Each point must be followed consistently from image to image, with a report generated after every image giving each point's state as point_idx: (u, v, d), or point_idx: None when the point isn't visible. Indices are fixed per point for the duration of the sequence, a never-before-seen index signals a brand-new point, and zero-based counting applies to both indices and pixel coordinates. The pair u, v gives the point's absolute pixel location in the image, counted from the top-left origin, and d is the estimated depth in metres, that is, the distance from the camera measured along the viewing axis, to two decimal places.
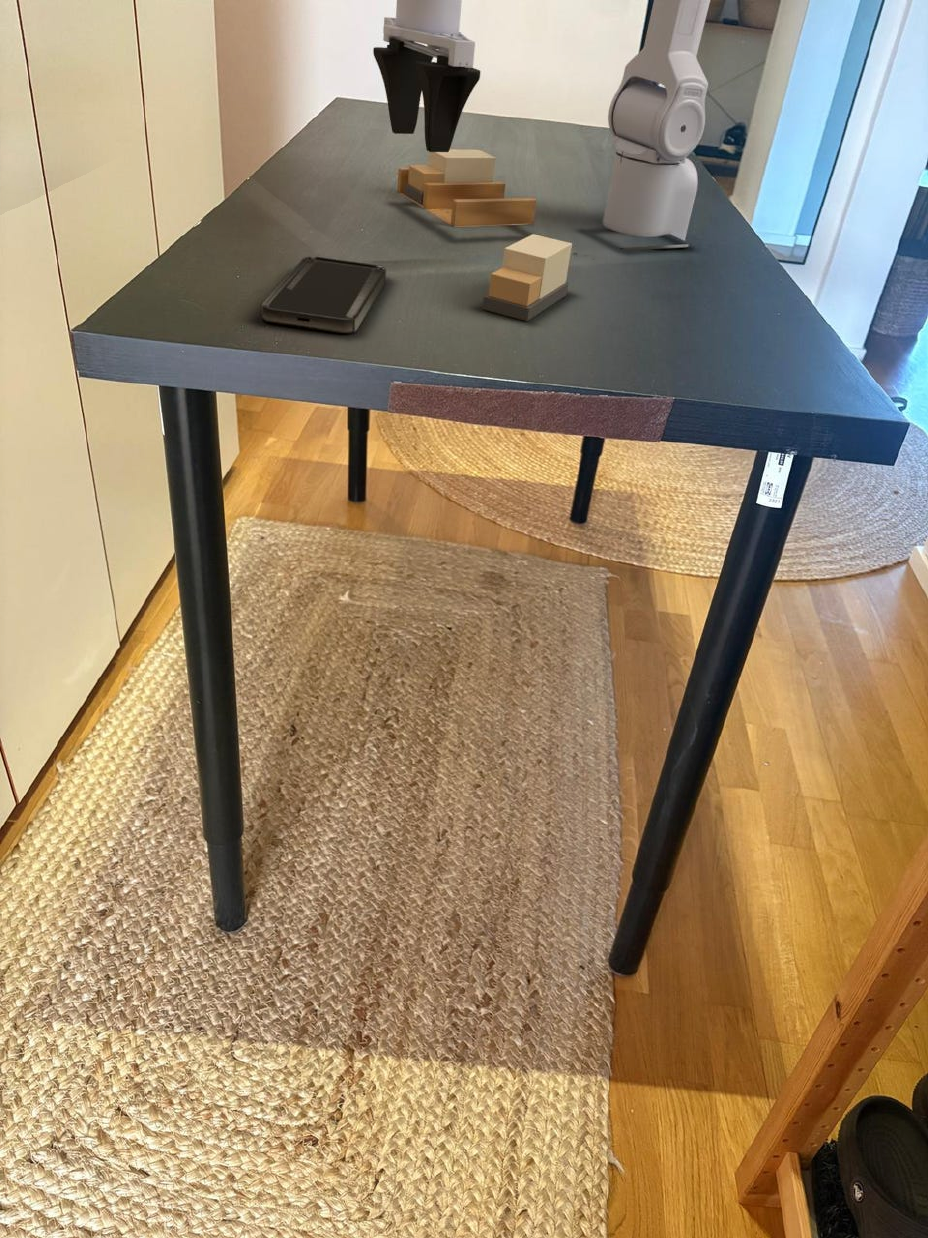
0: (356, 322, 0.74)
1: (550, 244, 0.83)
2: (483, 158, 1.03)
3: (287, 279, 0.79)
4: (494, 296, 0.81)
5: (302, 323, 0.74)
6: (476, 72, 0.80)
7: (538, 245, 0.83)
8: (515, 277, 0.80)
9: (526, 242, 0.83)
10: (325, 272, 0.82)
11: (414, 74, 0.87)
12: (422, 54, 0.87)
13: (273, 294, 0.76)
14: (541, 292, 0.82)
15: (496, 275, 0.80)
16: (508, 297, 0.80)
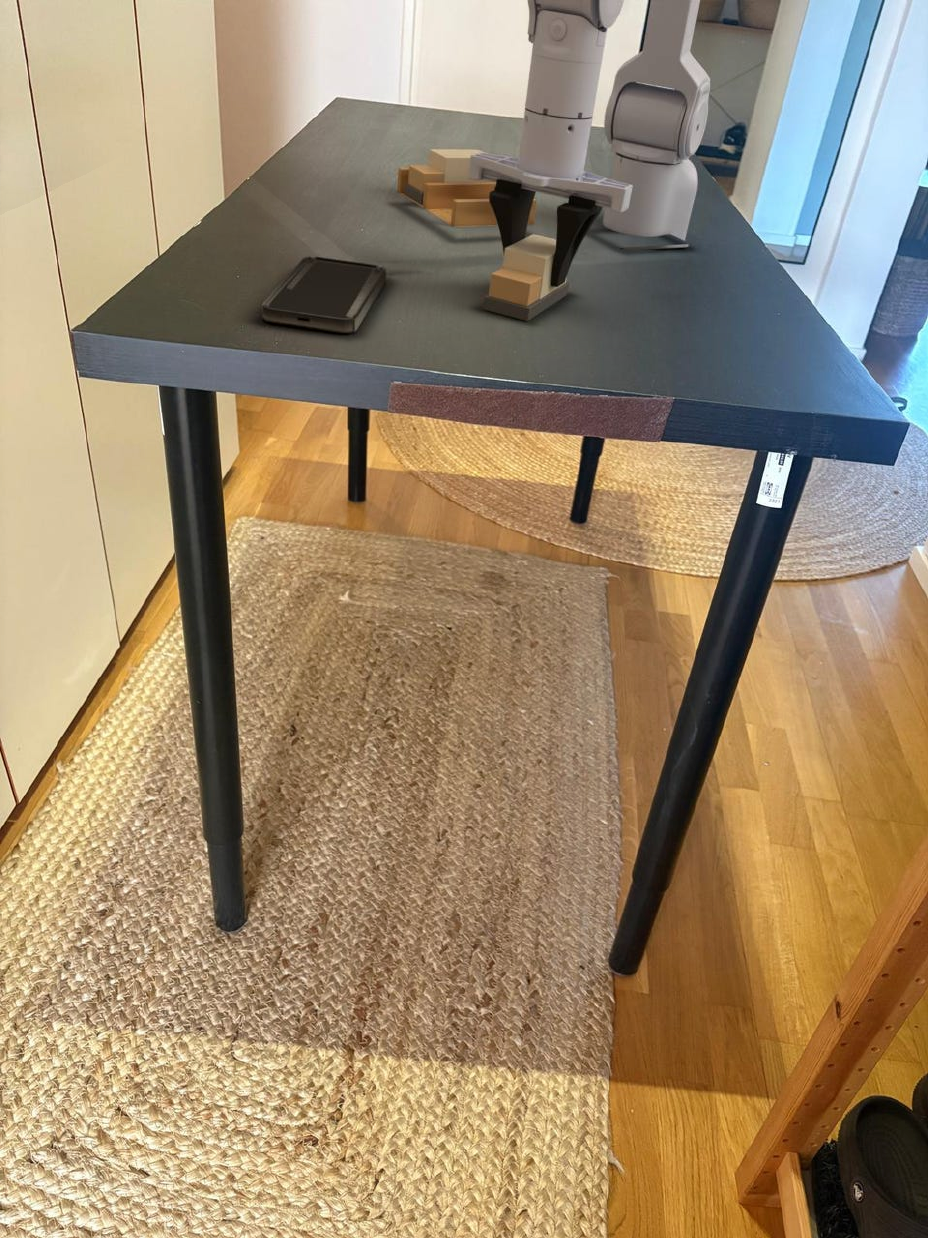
0: (356, 322, 0.74)
1: (550, 244, 0.83)
2: None
3: (287, 279, 0.79)
4: (494, 296, 0.81)
5: (302, 323, 0.74)
6: (602, 206, 0.80)
7: (538, 245, 0.83)
8: (515, 277, 0.80)
9: (526, 242, 0.83)
10: (325, 272, 0.82)
11: (524, 213, 0.83)
12: (530, 192, 0.82)
13: (273, 294, 0.76)
14: (541, 292, 0.82)
15: (496, 275, 0.80)
16: (508, 297, 0.80)
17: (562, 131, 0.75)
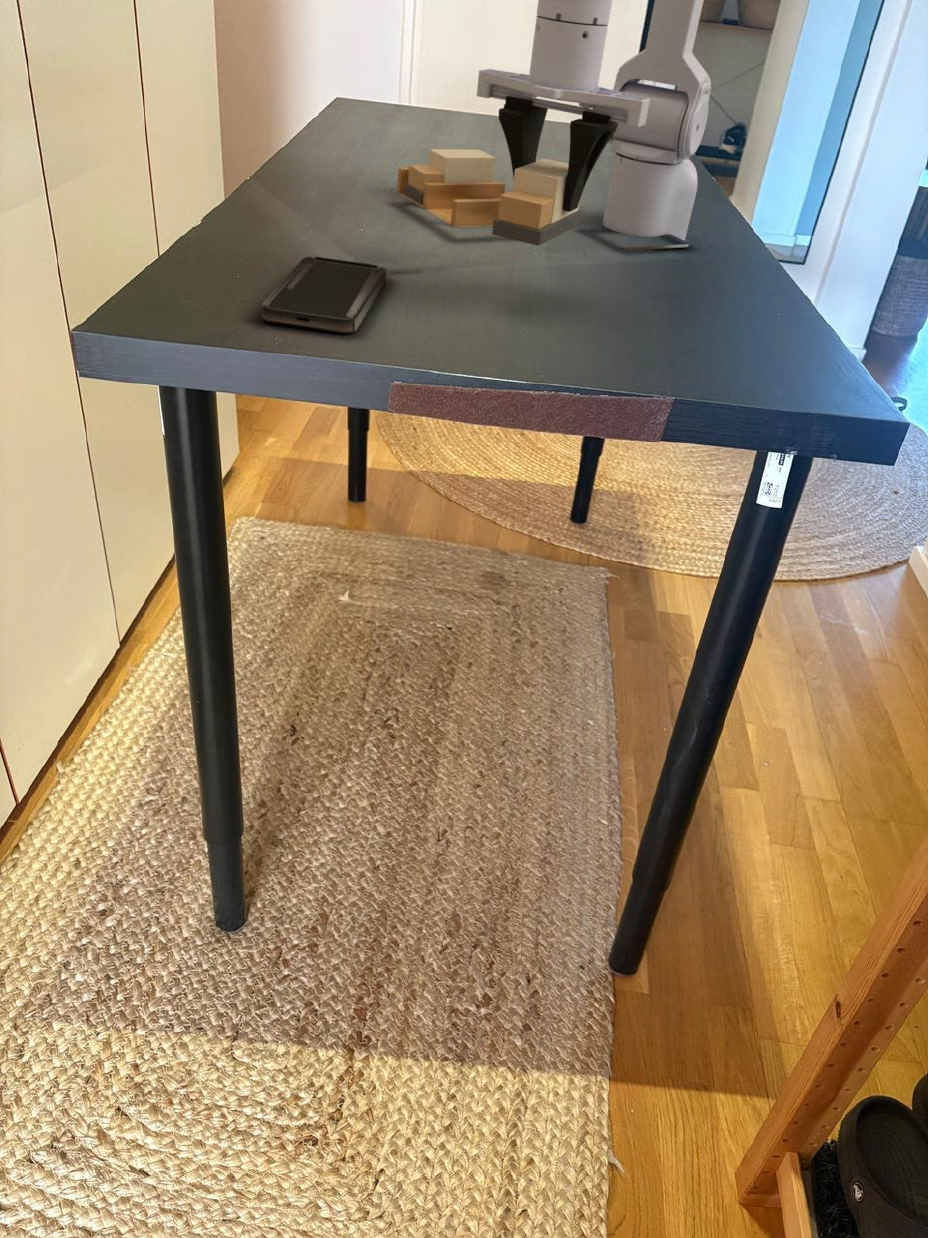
0: (356, 322, 0.74)
1: (562, 167, 0.80)
2: (483, 158, 1.03)
3: (287, 279, 0.79)
4: (504, 219, 0.77)
5: (302, 323, 0.73)
6: (617, 124, 0.77)
7: (550, 167, 0.79)
8: (526, 198, 0.76)
9: (537, 165, 0.79)
10: (325, 272, 0.82)
11: (535, 133, 0.79)
12: (542, 111, 0.78)
13: (273, 294, 0.76)
14: (553, 216, 0.78)
15: (506, 196, 0.76)
16: (519, 220, 0.77)
17: (576, 38, 0.71)
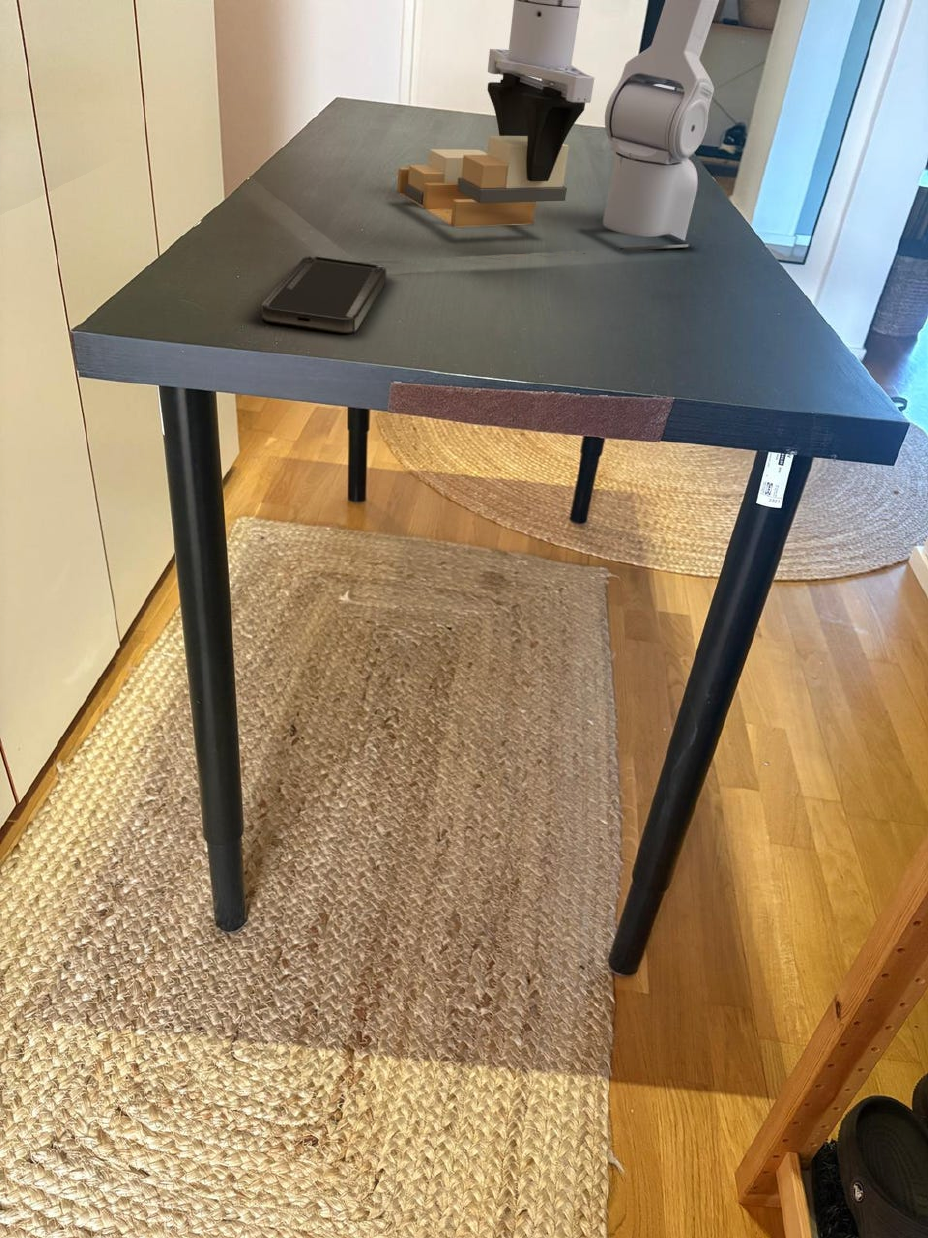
0: (356, 322, 0.74)
1: None
2: None
3: (287, 279, 0.79)
4: (464, 177, 0.86)
5: (302, 323, 0.73)
6: (582, 103, 0.81)
7: None
8: (480, 159, 0.84)
9: (522, 137, 0.86)
10: (325, 272, 0.82)
11: None
12: (537, 89, 0.85)
13: (273, 294, 0.76)
14: (509, 181, 0.85)
15: (466, 156, 0.85)
16: (471, 179, 0.85)
17: (530, 16, 0.77)
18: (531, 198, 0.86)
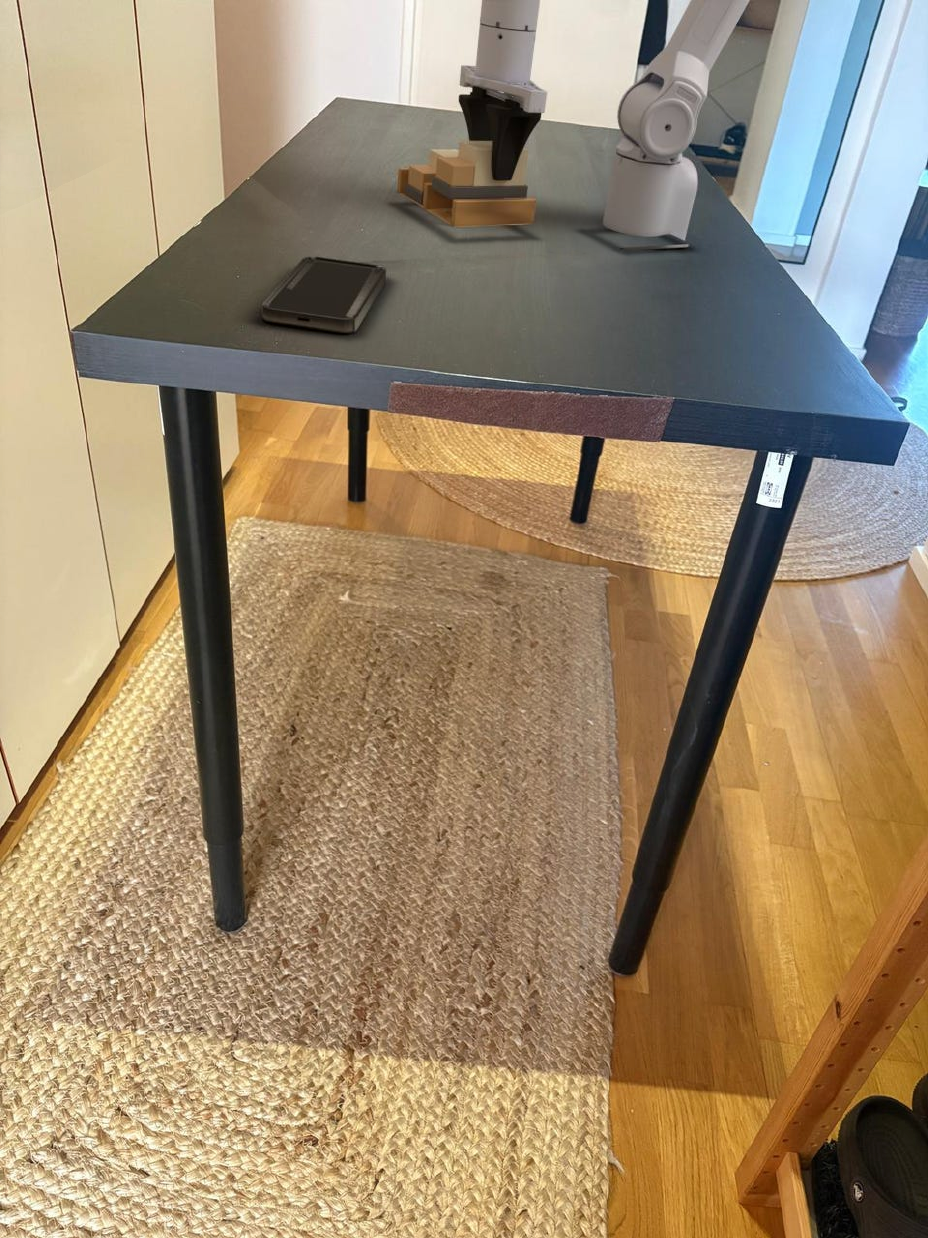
0: (356, 322, 0.74)
1: None
2: None
3: (287, 279, 0.79)
4: (437, 177, 0.98)
5: (302, 323, 0.74)
6: (538, 113, 0.94)
7: None
8: (450, 161, 0.97)
9: (488, 142, 0.99)
10: (325, 272, 0.82)
11: None
12: (501, 100, 0.98)
13: (273, 294, 0.76)
14: (476, 180, 0.97)
15: (439, 158, 0.97)
16: (443, 177, 0.97)
17: (493, 38, 0.90)
18: (496, 195, 0.99)
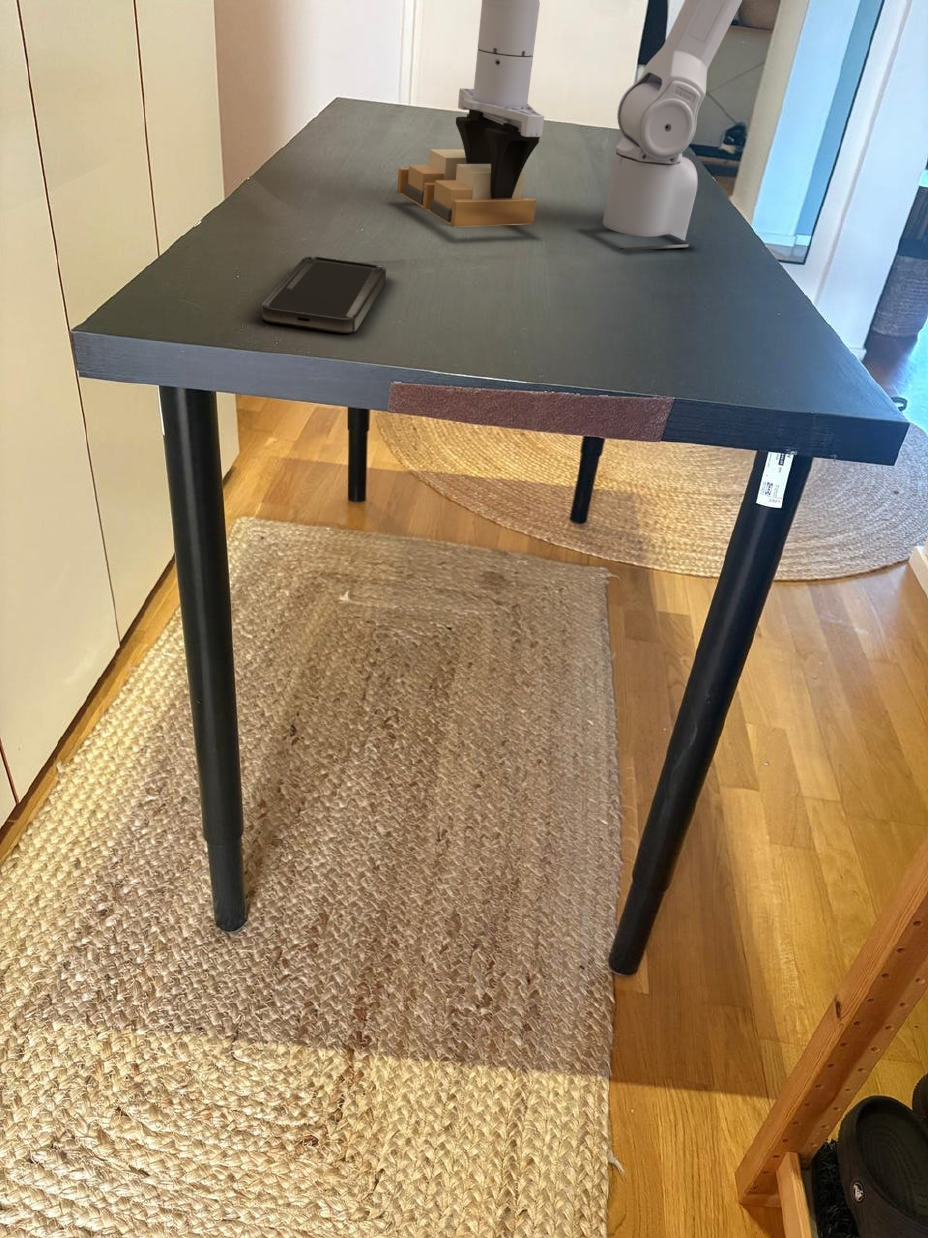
0: (356, 322, 0.74)
1: None
2: None
3: (287, 279, 0.79)
4: (435, 199, 1.00)
5: (302, 323, 0.73)
6: (536, 137, 0.95)
7: None
8: (448, 185, 0.98)
9: (485, 165, 1.00)
10: (325, 272, 0.82)
11: None
12: (498, 122, 0.99)
13: (273, 294, 0.76)
14: None
15: (437, 182, 0.99)
16: (441, 201, 0.99)
17: (490, 64, 0.91)
18: None
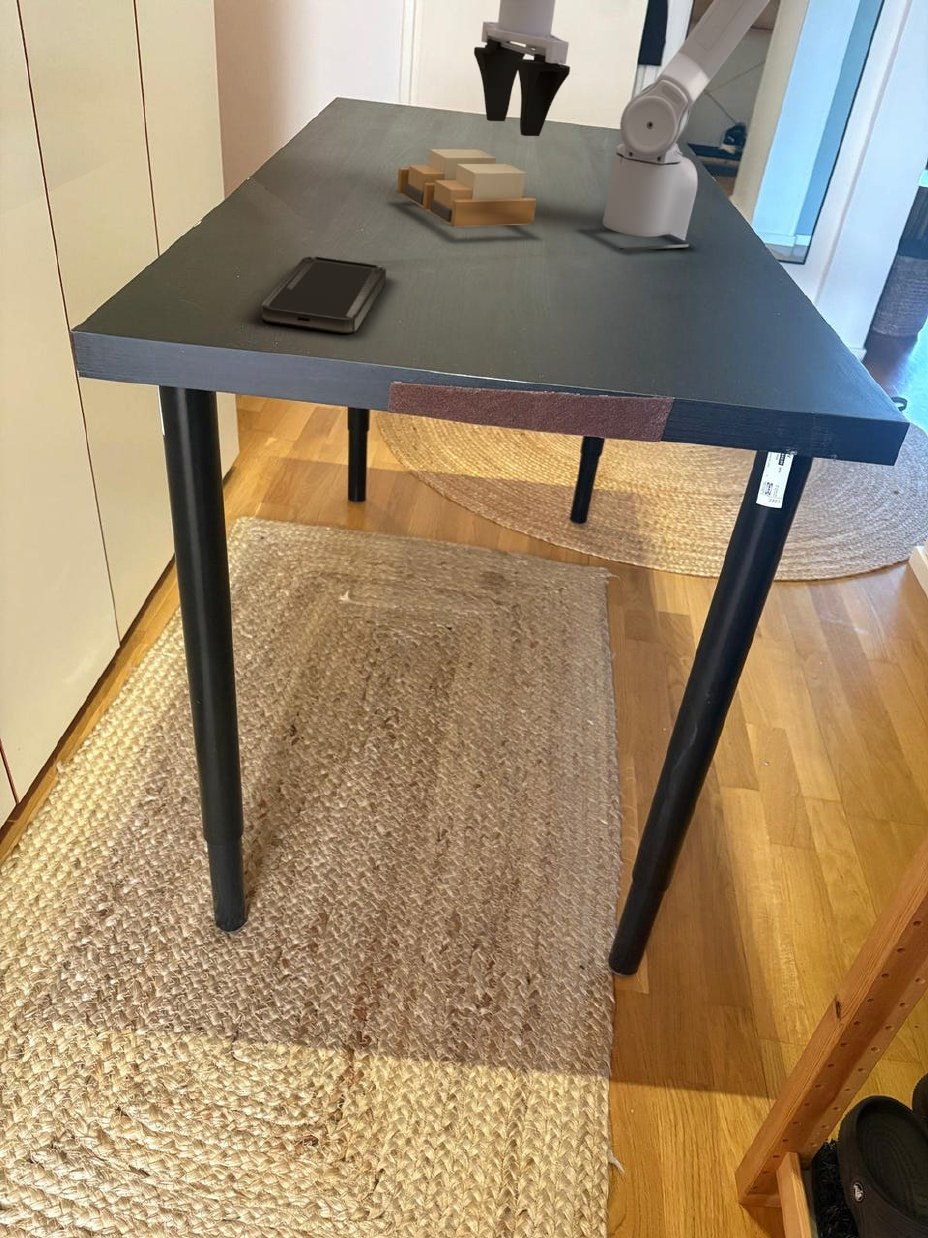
0: (356, 322, 0.74)
1: (503, 169, 0.99)
2: (483, 158, 1.03)
3: (287, 279, 0.79)
4: (435, 199, 1.00)
5: (302, 323, 0.73)
6: (567, 68, 0.95)
7: (491, 168, 0.99)
8: (448, 185, 0.98)
9: (485, 165, 1.00)
10: (325, 272, 0.82)
11: (508, 70, 1.02)
12: (515, 53, 1.02)
13: (273, 294, 0.76)
14: None
15: (437, 182, 0.99)
16: (441, 201, 0.99)
17: None
18: None
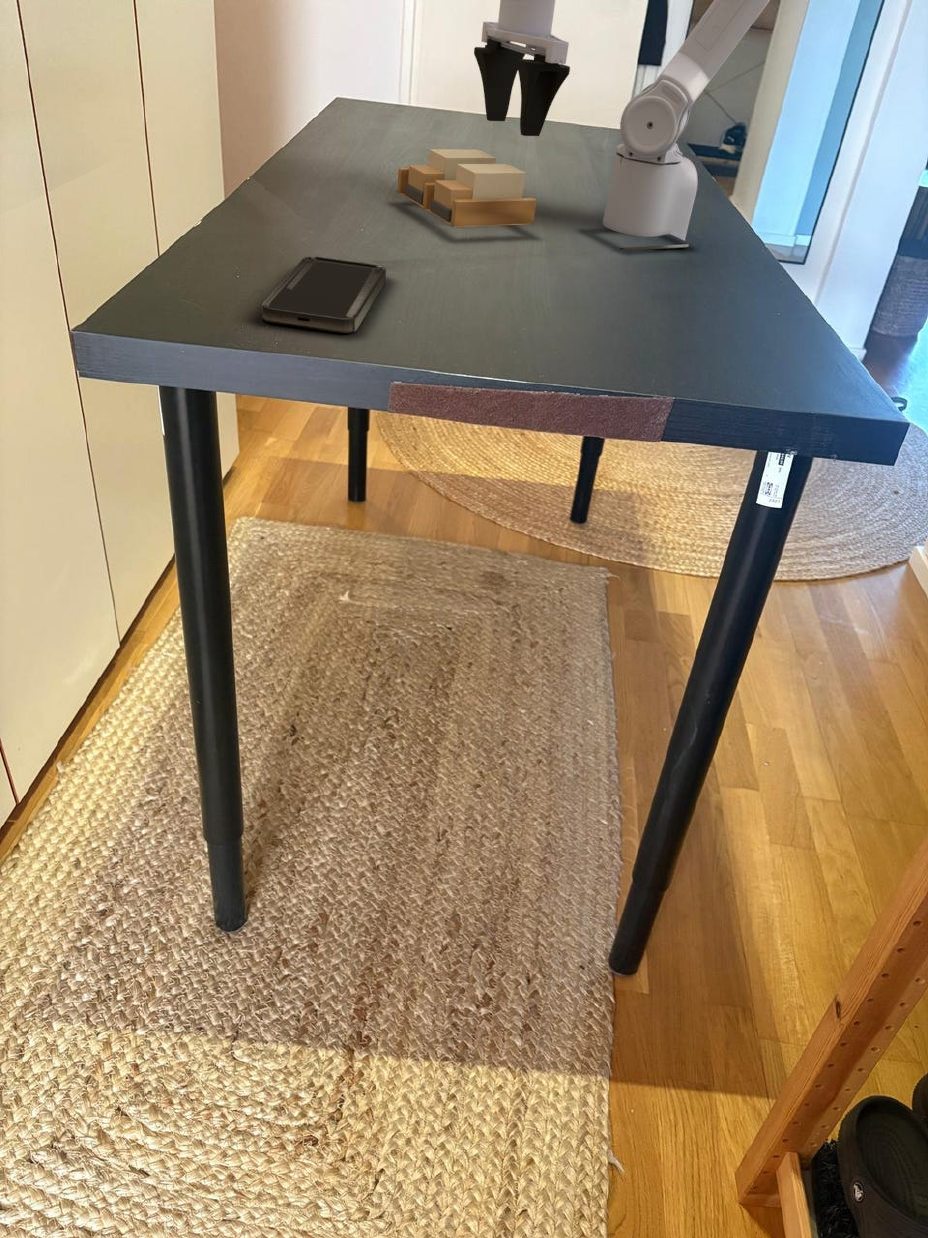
0: (356, 322, 0.74)
1: (503, 169, 0.99)
2: (483, 158, 1.03)
3: (287, 279, 0.79)
4: (435, 199, 1.00)
5: (302, 323, 0.73)
6: (567, 68, 0.95)
7: (491, 168, 0.99)
8: (448, 185, 0.98)
9: (485, 165, 1.00)
10: (325, 272, 0.82)
11: (508, 70, 1.02)
12: (515, 53, 1.02)
13: (273, 294, 0.76)
14: None
15: (437, 182, 0.99)
16: (441, 201, 0.99)
17: None
18: None
